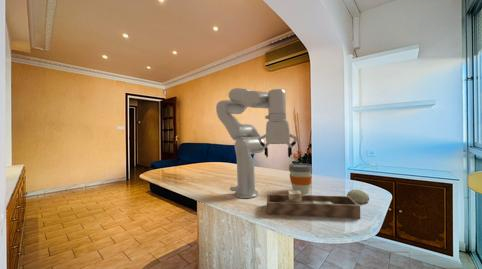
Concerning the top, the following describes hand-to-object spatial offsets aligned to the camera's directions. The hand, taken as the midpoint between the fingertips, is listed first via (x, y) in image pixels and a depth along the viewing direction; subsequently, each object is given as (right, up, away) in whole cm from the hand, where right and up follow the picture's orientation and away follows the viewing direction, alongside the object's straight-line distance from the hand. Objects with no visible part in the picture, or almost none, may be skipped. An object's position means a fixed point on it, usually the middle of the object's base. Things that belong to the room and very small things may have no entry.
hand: (278, 156), depth 87 cm
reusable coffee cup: (+18, -23, +25) cm, 38 cm away
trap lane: (+13, -23, -2) cm, 27 cm away
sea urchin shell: (+40, -22, +9) cm, 47 cm away
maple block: (+7, -20, -1) cm, 22 cm away
